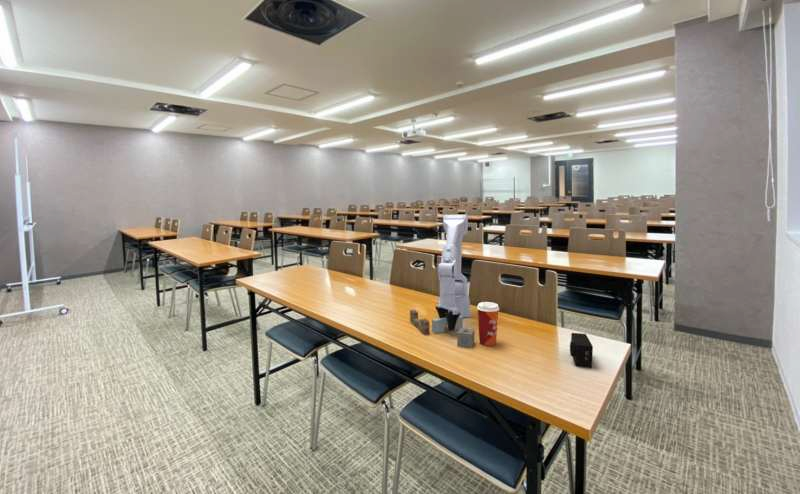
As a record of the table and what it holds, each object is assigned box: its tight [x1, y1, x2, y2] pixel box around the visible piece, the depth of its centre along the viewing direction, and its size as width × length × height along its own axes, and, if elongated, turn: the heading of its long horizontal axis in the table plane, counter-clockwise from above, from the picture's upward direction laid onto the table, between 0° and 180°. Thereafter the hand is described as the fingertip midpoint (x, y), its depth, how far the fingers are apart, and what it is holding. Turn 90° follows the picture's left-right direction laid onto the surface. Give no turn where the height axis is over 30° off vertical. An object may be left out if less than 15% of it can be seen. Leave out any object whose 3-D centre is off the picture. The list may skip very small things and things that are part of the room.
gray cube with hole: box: [456, 327, 475, 349], centre depth 127 cm, size 5×5×5 cm
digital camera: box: [569, 332, 594, 369], centre depth 113 cm, size 10×5×7 cm, turn 163°
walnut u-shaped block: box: [409, 309, 430, 336], centre depth 145 cm, size 16×2×5 cm, turn 18°
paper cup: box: [476, 301, 500, 347], centre depth 128 cm, size 8×8×14 cm
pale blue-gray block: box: [431, 316, 464, 334], centre depth 141 cm, size 12×2×5 cm, turn 108°
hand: (447, 327), depth 141 cm, fingers open, 6 cm apart
